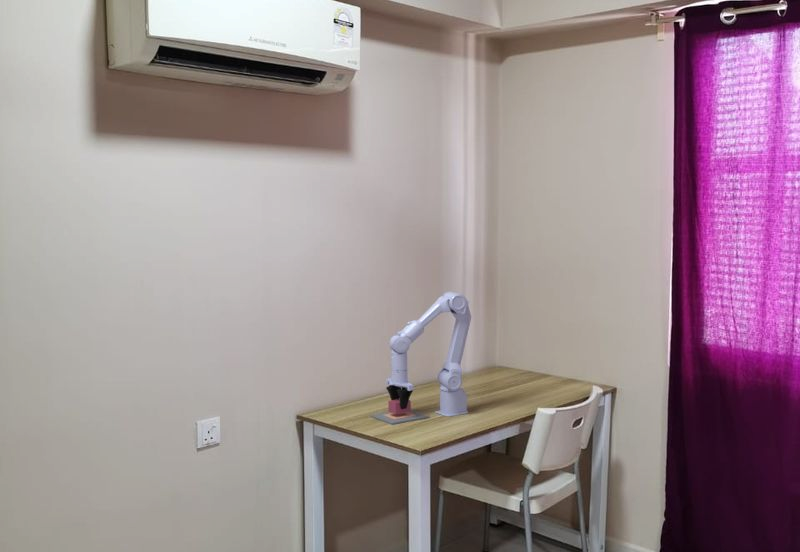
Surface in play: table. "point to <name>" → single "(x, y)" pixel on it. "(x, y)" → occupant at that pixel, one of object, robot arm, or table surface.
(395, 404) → the pink rectangular block
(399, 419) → the mat
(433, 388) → the table surface
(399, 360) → the robot arm
